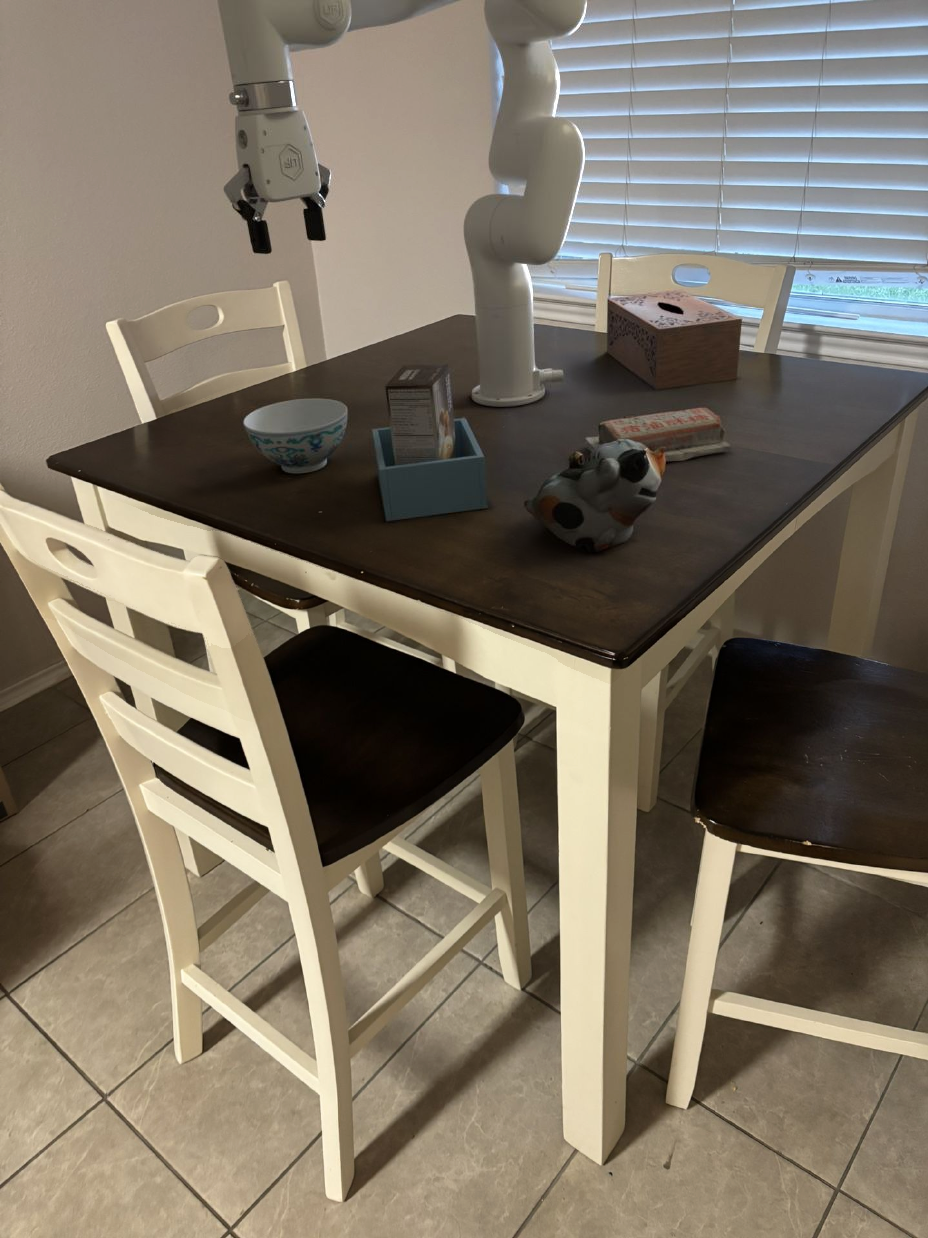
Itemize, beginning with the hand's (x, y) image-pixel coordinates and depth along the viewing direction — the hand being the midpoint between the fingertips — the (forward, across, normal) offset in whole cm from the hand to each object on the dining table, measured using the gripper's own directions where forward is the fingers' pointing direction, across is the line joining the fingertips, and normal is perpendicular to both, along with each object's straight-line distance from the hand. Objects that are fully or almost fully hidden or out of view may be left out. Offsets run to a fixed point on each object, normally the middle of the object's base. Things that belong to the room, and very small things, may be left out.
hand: (290, 246), depth 120 cm
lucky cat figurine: (+30, -1, -49) cm, 57 cm away
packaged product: (+30, +25, -43) cm, 58 cm away
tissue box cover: (+30, +63, -24) cm, 74 cm away
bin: (+30, -2, -24) cm, 38 cm away
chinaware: (+30, -4, 0) cm, 30 cm away
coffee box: (+30, -2, -24) cm, 38 cm away
